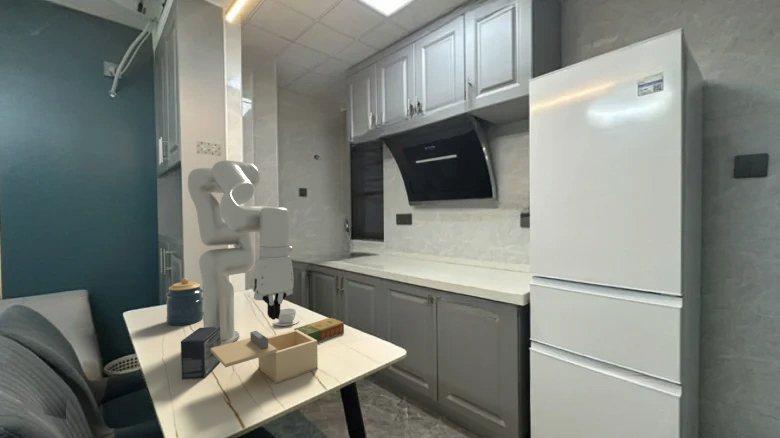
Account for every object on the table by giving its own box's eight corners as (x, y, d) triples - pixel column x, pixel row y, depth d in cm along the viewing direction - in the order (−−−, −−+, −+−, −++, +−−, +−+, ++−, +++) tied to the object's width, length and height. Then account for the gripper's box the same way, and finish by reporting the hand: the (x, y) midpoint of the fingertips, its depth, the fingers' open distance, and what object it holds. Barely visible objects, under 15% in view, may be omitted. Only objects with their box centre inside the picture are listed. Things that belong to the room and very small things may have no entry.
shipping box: (258, 367, 94) (258, 339, 94) (297, 355, 102) (297, 329, 102) (276, 383, 85) (276, 353, 85) (317, 368, 93) (317, 340, 93)
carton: (344, 333, 122) (344, 321, 122) (307, 346, 110) (307, 333, 110) (330, 327, 127) (330, 316, 127) (293, 339, 115) (293, 327, 115)
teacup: (268, 323, 133) (268, 311, 132) (290, 317, 140) (290, 306, 140) (281, 328, 126) (281, 316, 126) (304, 322, 133) (304, 310, 133)
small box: (199, 361, 98) (198, 326, 98) (222, 360, 99) (221, 326, 98) (179, 379, 88) (179, 340, 87) (205, 378, 88) (204, 339, 88)
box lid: (210, 351, 86) (210, 338, 86) (258, 338, 94) (258, 327, 94) (225, 367, 77) (225, 353, 76) (277, 351, 85) (276, 339, 85)
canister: (158, 324, 131) (157, 280, 131) (187, 314, 143) (186, 274, 143) (183, 327, 127) (183, 282, 127) (211, 317, 140) (210, 275, 139)
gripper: (293, 248, 98) (292, 309, 99) (241, 252, 88) (241, 320, 89) (305, 251, 93) (305, 315, 94) (251, 256, 83) (251, 328, 84)
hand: (273, 317), depth 91 cm, fingers closed
